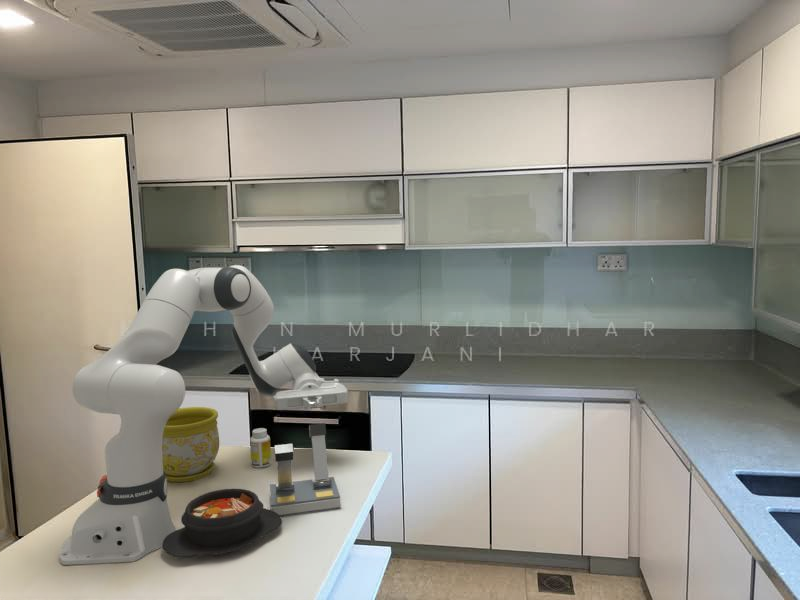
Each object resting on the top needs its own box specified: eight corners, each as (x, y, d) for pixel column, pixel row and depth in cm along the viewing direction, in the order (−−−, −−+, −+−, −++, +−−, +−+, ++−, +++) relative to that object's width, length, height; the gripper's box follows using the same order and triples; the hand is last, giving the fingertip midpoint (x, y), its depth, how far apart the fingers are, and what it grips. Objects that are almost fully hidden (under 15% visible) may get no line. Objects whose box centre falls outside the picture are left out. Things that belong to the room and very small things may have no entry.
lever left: (276, 495, 144) (274, 453, 135) (275, 487, 145) (273, 445, 137) (294, 493, 145) (294, 451, 136) (293, 485, 146) (293, 443, 138)
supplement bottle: (272, 460, 174) (270, 426, 173) (270, 467, 168) (268, 432, 167) (253, 461, 173) (251, 427, 172) (250, 469, 168) (248, 434, 167)
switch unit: (271, 518, 138) (271, 504, 138) (270, 495, 150) (269, 483, 150) (340, 508, 142) (340, 495, 142) (334, 487, 154) (333, 475, 153)
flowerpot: (216, 483, 159) (212, 423, 157) (145, 489, 156) (140, 428, 154) (225, 458, 176) (222, 404, 175) (162, 463, 174) (158, 408, 172)
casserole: (264, 508, 144) (263, 474, 143) (295, 540, 128) (293, 502, 127) (154, 539, 130) (152, 502, 129) (174, 579, 115) (171, 537, 114)
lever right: (313, 487, 145) (308, 424, 151) (313, 488, 147) (308, 427, 153) (331, 485, 146) (326, 423, 152) (331, 486, 148) (325, 425, 154)
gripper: (271, 385, 170) (273, 397, 156) (343, 378, 175) (350, 390, 161) (273, 406, 171) (274, 421, 157) (344, 399, 175) (351, 413, 162)
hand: (313, 405), depth 159 cm, fingers closed
